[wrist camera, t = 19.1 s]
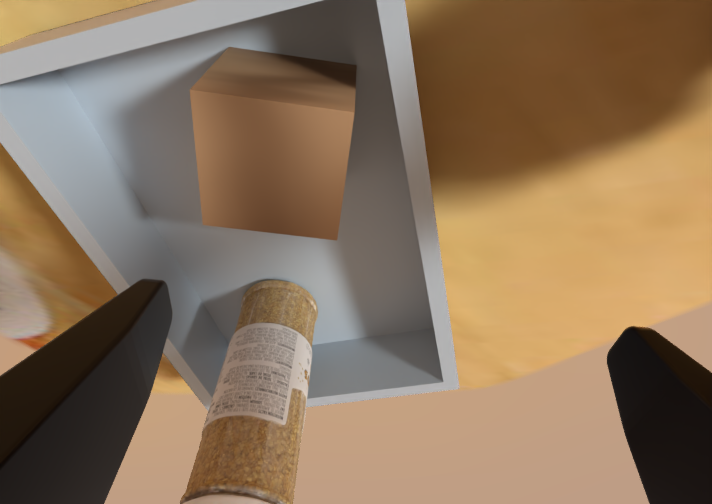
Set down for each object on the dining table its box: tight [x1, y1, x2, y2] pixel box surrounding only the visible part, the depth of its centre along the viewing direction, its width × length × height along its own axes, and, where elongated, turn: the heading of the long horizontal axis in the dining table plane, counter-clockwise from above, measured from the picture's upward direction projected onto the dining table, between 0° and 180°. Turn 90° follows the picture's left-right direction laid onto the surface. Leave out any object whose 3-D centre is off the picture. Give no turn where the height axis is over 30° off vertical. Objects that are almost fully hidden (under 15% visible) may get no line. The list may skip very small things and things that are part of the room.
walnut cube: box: [190, 47, 357, 241], centre depth 17 cm, size 5×5×5 cm
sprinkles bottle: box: [180, 280, 318, 504], centre depth 21 cm, size 5×5×13 cm
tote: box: [0, 0, 460, 411], centre depth 21 cm, size 15×21×4 cm
